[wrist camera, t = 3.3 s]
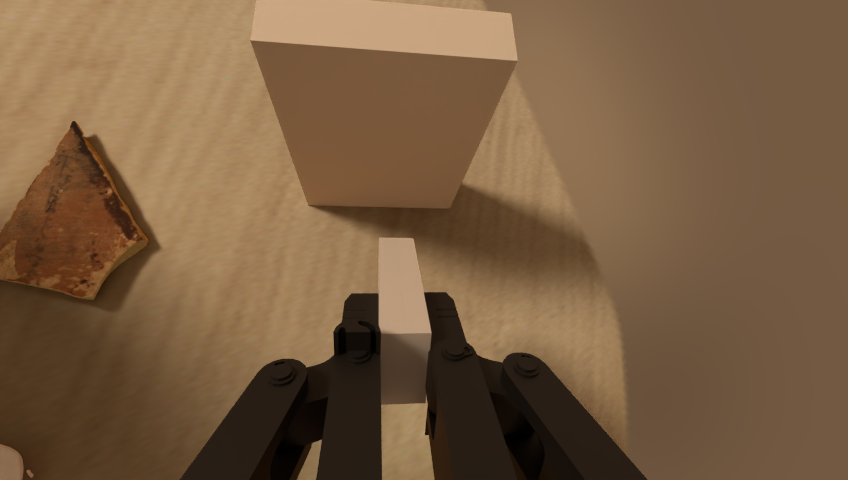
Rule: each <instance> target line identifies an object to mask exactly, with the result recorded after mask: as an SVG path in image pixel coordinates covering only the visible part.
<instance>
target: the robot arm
mask: <svg viewBox="0 0 848 480" xmlns="http://www.w3.org/2000/svg"><path fill="white" fill-rule="evenodd" d="M426 395H427V402H428V408H427V419H426V429H425V435H429V439H430V447H431V455H432V462H433V470H434V478H435V480H647V479H646V477H644V475H643V474H642V473H641V472H640V471H639V470H638V468H637V467H636V466H635V465H634V464H633V463H632V462H631V460H630V459H629V458H628V457H627V456H626V455H625V454H624V453H623V451H622V450H621V449H620V448H619V447H618V446H617V445H616V443H615V442H614V441H613V440H612V439H611V438H610V437H609V435H608V434H607V433H606V432H605V431H604V430H603V429H602V428H601V426H600V425H599V424H598V423H597V422H596V421H595V420H594V418H593V417H592V416H591V415H590V414H589V413H588V412H587V410H586V409H585V408H584V407H583V406H582V405H581V404H580V403H579V401H578V400H577V399H576V398H575V397H574V396H573V395H572V393H571V392H570V391H569V390H568V389H567V388H566V387H565V386H564V384H563V383H562V382H561V381H560V380H559V379H558V378H557V376H556V375H555V374H554V373H553V372H552V371H551V370H550V368H549V367H548V366H547V365H546V364H545V363H544V362H543V361H541V360H540V359H539V358H537V357H535V356H533V355H531V354H527V353H513V354H510V355H508V356H507V357H506V358H505V359H504V361H503V363H502V362H497V361H492V360H488V359H485V358H482V357H480V356H478V355H477V354H476V352H475V350H474V348H473V347H472V346H471V345H469V344H468V343H467V342H466V339H465V336H464V332H463V329H462V326H461V323H460V319H459V318H458V313H457V310H456V307H455V303H454V300H453V299H452V298H451V297H450V296H449V295H448V294H447V293H446V292H424V291H423V286H422V281H421V276H420V270H419V265H418V260H417V255H416V250H415V244H414V239H413V238H379V263H378V293H372V294H351V295H350V296H349V297H348V298H347V299H346V301H345V303H344V311H343V318H342V323H340V324H339V325H338V326H337V327H336V328H335V330H334V356H332V357H331V358H330V359H329V360H327V361H325V362H324V363H321V364H318V365H315V366H311V367H307V368H306V366H305V365H304V364H303V363H302V362H300V361H298V360H295V359H280V360H276V361H273V362H271V363H269V364H267V365H265V366H264V367H263V368H262V369H261V370H260V371H259V372H258V373H257V374H256V376H255V377H254V379H253V380H252V381H251V383H250V384H249V385H248V387H247V388H246V390H245V391H244V392H243V394H242V395H241V396H240V398H239V399H238V401H237V402H236V403H235V405H234V406H233V407H232V409H231V410H230V412H229V413H228V414H227V416H226V417H225V418H224V420H223V421H222V423H221V424H220V425H219V427H218V428H217V429H216V431H215V432H214V434H213V435H212V436H211V438H210V439H209V440H208V442H207V443H206V445H205V446H204V447H203V449H202V450H201V451H200V453H199V454H198V456H197V457H196V458H195V460H194V461H193V462H192V464H191V465H190V467H189V468H188V469H187V471H186V472H185V473H184V475H183V476H182V478H181V479H180V480H297V478H298V475H299V473H300V471H301V469H302V466H303V464H304V462H305V460H306V457H307V455H308V453H309V451H310V449H311V445H312V443H313V442H316V441H319V440H322V444H321V451H320V458H319V465H318V472H317V478H316V480H382V452H381V405H382V404H410V403H425V400H426Z"/></svg>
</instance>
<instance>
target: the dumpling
mask: <svg viewBox="0 0 848 480" xmlns="http://www.w3.org/2000/svg"><path fill="white" fill-rule="evenodd" d="M23 471H24V466H23V460H22V457H21V455H20V454H19V453H18V452H17V451H16V450H14V449H12V448H11V447H8V446H5V445H1V444H0V480H23ZM30 471H31V470H26V472H27V474H28V475H29V477H31V478H32V477H33V476H34V475H33V474H32V473H31V472H30Z"/></svg>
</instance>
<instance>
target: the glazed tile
mask: <svg viewBox="0 0 848 480" xmlns="http://www.w3.org/2000/svg"><path fill="white" fill-rule="evenodd" d="M250 41H251V44H252V46H253V49H254V52H255V55H256V58H257V61H258V63H259V66H260V69H261V72H262V75H263V78H264V81H265V83H266V86H267V89H268V92H269V95H270V98H271V100H272V103H273V106H274V109H275V112H276V115H277V118H278V120H279V123H280V126H281V129H282V132H283V135H284V138H285V140H286V143H287V146H288V149H289V152H290V155H291V157H292V160H293V163H294V166H295V169H296V172H297V175H298V177H299V180H300V183H301V186H302V189H303V192H304V194H305V197H306V200H307V203H308V205H316V206H358V207H400V208H441V209H450V207H451V205H452V203H453V201H454V198H455V196H456V194H457V192H458V190H459V188H460V185H461V183H462V181H463V179H464V177H465V175H466V172H467V170H468V168H469V166H470V164H471V161H472V159H473V157H474V155H475V153H476V151H477V148H478V146H479V144H480V142H481V140H482V138H483V135H484V133H485V131H486V129H487V127H488V125H489V122H490V120H491V118H492V116H493V114H494V111H495V109H496V107H497V105H498V103H499V101H500V98H501V96H502V94H503V92H504V90H505V88H506V85H507V83H508V81H509V79H510V77H511V74H512V72H513V70H514V68H515V66H516V63H517V60H518V59H517V53H516V46H515V39H514V32H513V25H512V18H511V14H510V13H499V12H489V11H478V10H467V9H457V8H446V7H435V6H425V5H414V4H403V3H393V2H382V1H371V0H256V7H255V13H254V20H253V26H252V33H251V39H250Z"/></svg>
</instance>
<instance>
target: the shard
mask: <svg viewBox="0 0 848 480" xmlns="http://www.w3.org/2000/svg"><path fill="white" fill-rule="evenodd" d="M146 245H148V239H147V237H146V236H145V235H144V234H143V232H142V231H141V229H140V227H139V226H138V225H137V224H136V223H135V221H134V219H133V217H132V215H131V212H130V210H129V209H128V207H127V206H126V204H125V203H124V202H123V201H122V200H121V198H120V196H119V193H118V191H117V189H116V187H115V184H114V182H113V181H112V179H111V177H110V176H109V173H108V171H107V169H106V168H105V166H104V163H103V162H102V159H101V157H100V156H99V155H98V153H97V152H96V151H95V150H94V149H93V148H92V146H91V144H90V142H89V141H87V140H86V139H85V138H84V137H83V132H82V130H81V128H80V127H79V125H78V124H77V123H76V122H75V121H73V122H72V123H71V126H70V128H69V130H68V132H67V133H66V135H65V136H64V138H63V139H62V141H61V142H60V143H59V145H58V147H57V149H56V152H55V154H54V156H53V157H52V158H51V159H50V160H49V162H48V164H47V165H46V166H45V168H44V169H43V170H42V171H41V173H40V174H39V175H38V176H37V177H36V179H35V180H34V181H33V183H32V184H31V186H30V187H29V189H28V191H27V193H26V194H25V196H24V198H22V199H21V200H20V202H19V203H18V205H17V206H16V208H15V210H14V211H13V213H12V216H11V218H10V219H9V221H8V222H7V223H6V224H5V226H4V227H3V229H2V231H1V233H0V280H3V281H9V282H14V283H19V284H24V285H29V286H34V287H38V288H45V289H50V290H53V291H56V292H61V293H64V294H67V295H71V296H74V297H76V298H80V299H85V300H94V299H95V296H96V294H97V292H98V291H99V289H100V287H101V285H102V283H103V282H104V280H105V279H106V277H107V276H108V275H109V274H110V273H111V272H112V271H113V270H114V269H116V268H117V267H118V266H119V265H120V264H121V263H122V262H124V261H125V260H127V259H128V258H130V257H131V256H132V255H134V254H136V253H137V252H138V251H139V250H141V249H143V248H144V247H145V246H146Z"/></svg>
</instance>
